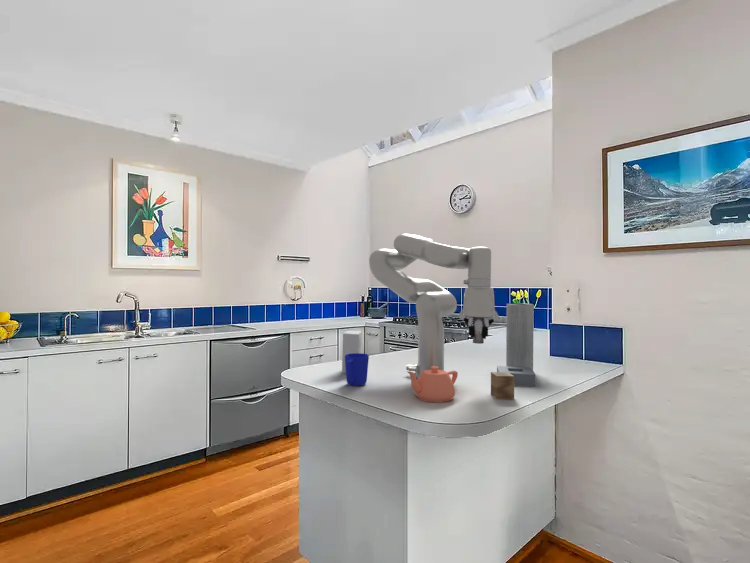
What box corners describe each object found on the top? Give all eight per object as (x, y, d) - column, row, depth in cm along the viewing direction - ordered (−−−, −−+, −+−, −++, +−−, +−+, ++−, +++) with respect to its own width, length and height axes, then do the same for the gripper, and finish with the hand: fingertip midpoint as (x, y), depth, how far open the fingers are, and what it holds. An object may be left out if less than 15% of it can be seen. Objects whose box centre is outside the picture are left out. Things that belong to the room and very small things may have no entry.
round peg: (472, 343, 138) (473, 313, 138) (472, 341, 142) (473, 312, 142) (483, 343, 138) (484, 313, 138) (483, 342, 141) (484, 313, 141)
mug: (335, 388, 136) (335, 358, 136) (350, 380, 147) (350, 352, 147) (358, 391, 133) (359, 360, 133) (371, 382, 144) (372, 354, 144)
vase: (537, 372, 163) (537, 303, 163) (527, 376, 155) (527, 304, 155) (512, 368, 169) (512, 302, 169) (501, 372, 162) (502, 303, 162)
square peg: (496, 399, 125) (496, 376, 125) (490, 394, 131) (490, 372, 131) (514, 399, 126) (514, 376, 126) (507, 394, 131) (508, 372, 131)
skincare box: (346, 368, 167) (346, 330, 167) (362, 369, 166) (362, 330, 166) (341, 373, 159) (341, 332, 159) (358, 374, 158) (358, 333, 158)
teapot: (468, 400, 124) (468, 368, 124) (416, 407, 117) (416, 373, 117) (445, 390, 135) (446, 361, 135) (396, 396, 128) (397, 365, 128)
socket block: (499, 384, 144) (499, 372, 144) (496, 376, 156) (497, 365, 156) (535, 386, 141) (535, 374, 141) (530, 378, 153) (530, 367, 153)
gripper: (453, 283, 138) (452, 338, 138) (505, 284, 134) (504, 340, 134) (454, 283, 145) (453, 335, 145) (504, 284, 141) (503, 337, 142)
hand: (478, 337), depth 140 cm, fingers closed on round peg, 3 cm apart
